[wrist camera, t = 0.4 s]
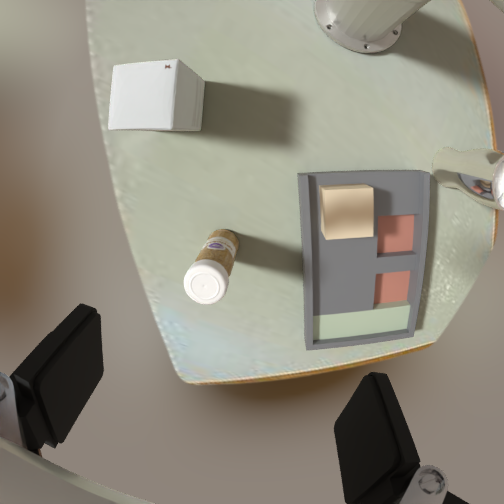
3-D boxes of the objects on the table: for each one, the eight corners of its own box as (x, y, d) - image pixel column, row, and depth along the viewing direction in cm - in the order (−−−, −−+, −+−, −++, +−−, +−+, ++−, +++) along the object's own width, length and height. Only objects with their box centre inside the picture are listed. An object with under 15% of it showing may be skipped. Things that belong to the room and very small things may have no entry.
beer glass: (422, 177, 39) (483, 198, 25) (437, 135, 36) (502, 140, 22) (455, 197, 39) (517, 223, 25) (469, 157, 37) (534, 170, 23)
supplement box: (154, 81, 36) (112, 62, 24) (206, 80, 36) (181, 57, 24) (149, 131, 39) (105, 130, 27) (201, 133, 39) (173, 130, 27)
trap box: (297, 173, 40) (299, 175, 37) (419, 170, 38) (429, 172, 35) (304, 338, 49) (306, 350, 46) (406, 326, 47) (413, 336, 44)
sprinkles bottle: (235, 226, 43) (221, 263, 30) (241, 256, 44) (230, 303, 32) (204, 231, 43) (177, 268, 31) (210, 261, 45) (188, 308, 32)
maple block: (319, 185, 38) (324, 190, 34) (363, 183, 38) (373, 188, 34) (321, 230, 40) (326, 239, 37) (364, 227, 40) (373, 236, 36)
